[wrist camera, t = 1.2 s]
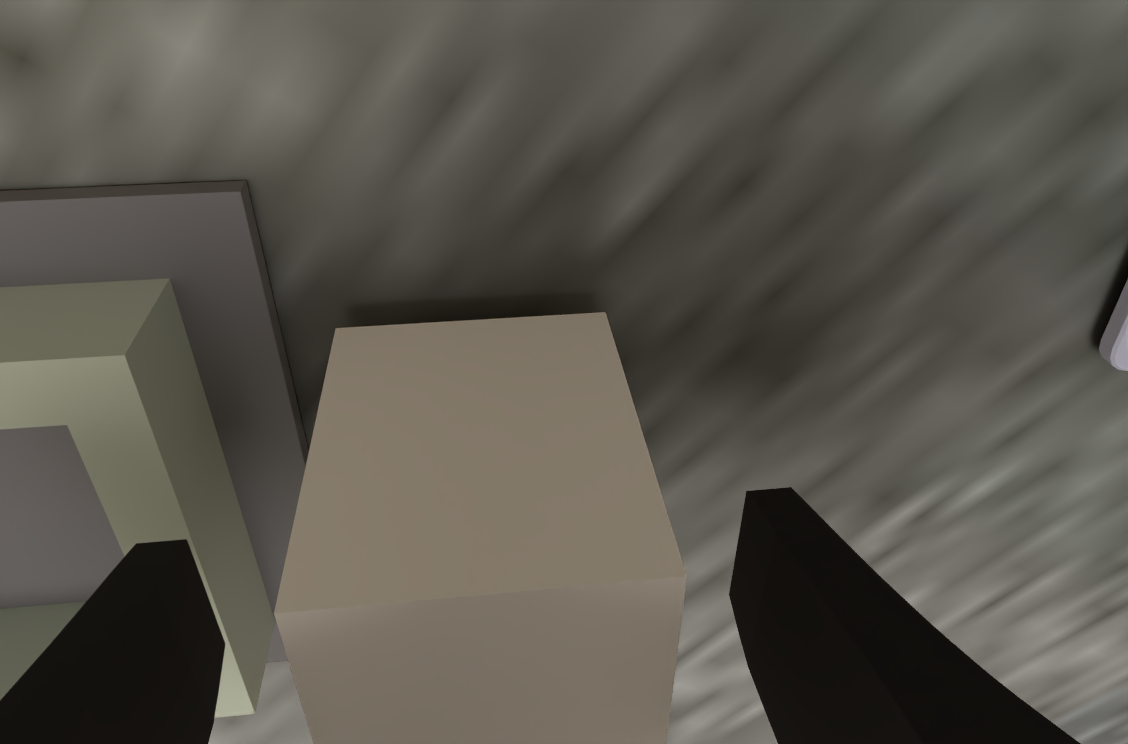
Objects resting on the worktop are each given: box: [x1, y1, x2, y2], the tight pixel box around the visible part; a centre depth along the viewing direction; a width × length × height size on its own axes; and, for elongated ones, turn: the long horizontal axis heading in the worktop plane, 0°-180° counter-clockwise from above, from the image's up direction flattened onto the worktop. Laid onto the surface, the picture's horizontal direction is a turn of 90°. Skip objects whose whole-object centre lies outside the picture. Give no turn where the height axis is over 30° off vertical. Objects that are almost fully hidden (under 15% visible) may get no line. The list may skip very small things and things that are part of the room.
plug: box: [274, 312, 687, 744], centre depth 12 cm, size 4×4×6 cm
